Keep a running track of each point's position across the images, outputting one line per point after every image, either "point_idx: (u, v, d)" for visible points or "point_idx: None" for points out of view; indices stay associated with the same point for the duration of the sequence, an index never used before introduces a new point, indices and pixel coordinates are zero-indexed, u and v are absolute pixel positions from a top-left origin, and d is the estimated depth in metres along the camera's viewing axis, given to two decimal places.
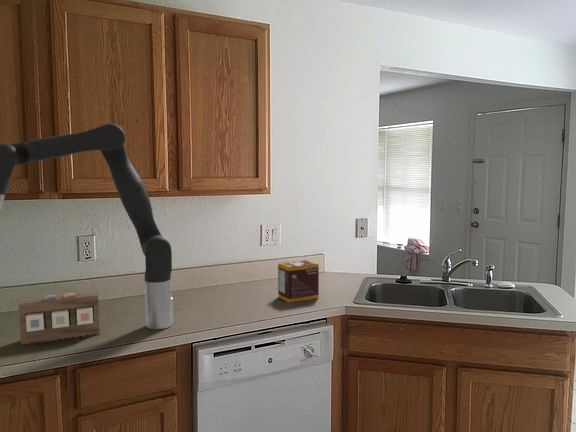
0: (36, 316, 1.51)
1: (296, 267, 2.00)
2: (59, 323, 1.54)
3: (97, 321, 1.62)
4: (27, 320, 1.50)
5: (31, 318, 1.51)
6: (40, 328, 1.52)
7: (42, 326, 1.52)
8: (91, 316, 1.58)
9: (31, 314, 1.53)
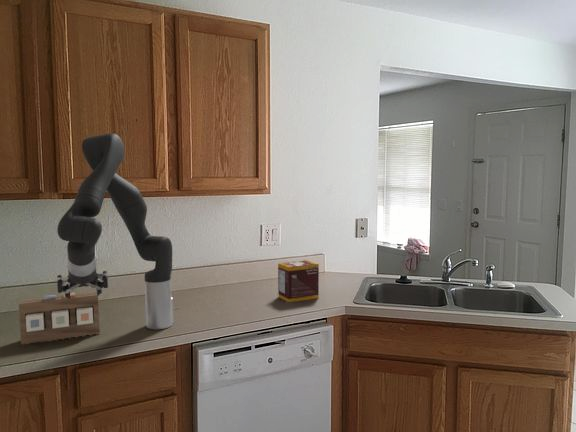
0: (36, 316, 1.51)
1: (296, 267, 2.00)
2: (59, 323, 1.54)
3: (97, 321, 1.62)
4: (27, 320, 1.50)
5: (31, 318, 1.51)
6: (40, 328, 1.52)
7: (42, 326, 1.52)
8: (91, 316, 1.58)
9: (31, 314, 1.53)
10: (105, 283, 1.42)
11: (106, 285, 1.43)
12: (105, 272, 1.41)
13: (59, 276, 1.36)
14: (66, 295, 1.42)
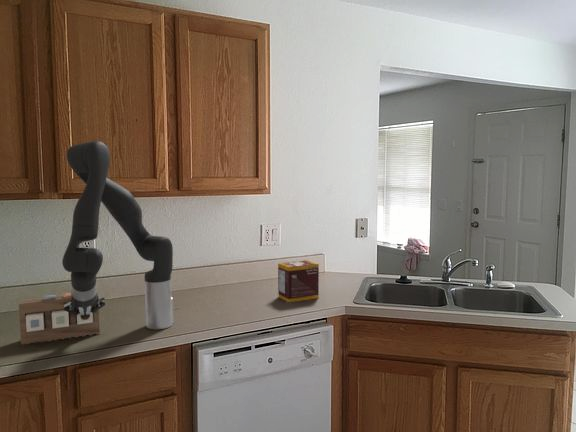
0: (36, 316, 1.51)
1: (296, 267, 2.00)
2: (59, 323, 1.54)
3: (97, 321, 1.62)
4: (27, 320, 1.50)
5: (31, 318, 1.51)
6: (40, 328, 1.52)
7: (42, 326, 1.52)
8: (91, 315, 1.59)
9: (31, 314, 1.53)
10: (97, 308, 1.54)
11: (95, 310, 1.54)
12: (104, 299, 1.54)
13: (64, 303, 1.49)
14: (81, 316, 1.55)
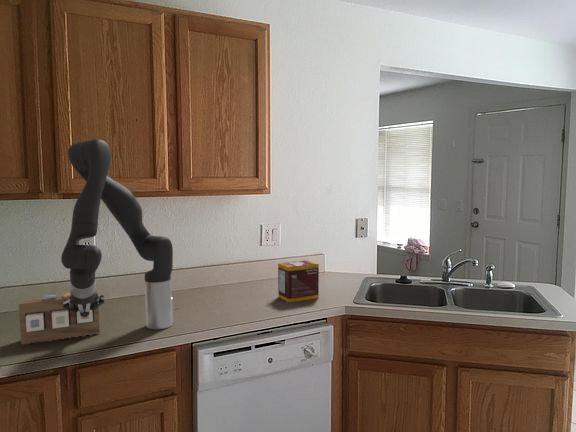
0: (36, 316, 1.51)
1: (296, 267, 2.00)
2: (59, 323, 1.54)
3: (97, 321, 1.62)
4: (27, 320, 1.50)
5: (31, 318, 1.51)
6: (40, 328, 1.52)
7: (42, 326, 1.52)
8: (91, 314, 1.60)
9: (31, 314, 1.53)
10: (96, 306, 1.54)
11: (95, 308, 1.55)
12: (103, 296, 1.54)
13: (63, 301, 1.49)
14: (81, 314, 1.56)
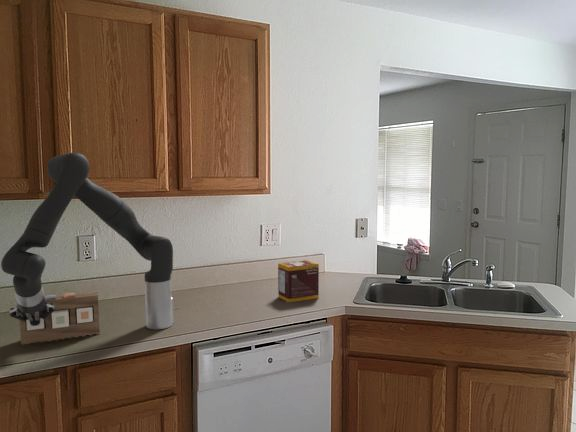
0: None
1: (296, 267, 2.00)
2: (59, 323, 1.54)
3: (97, 321, 1.62)
4: None
5: None
6: (40, 327, 1.53)
7: (42, 325, 1.54)
8: (91, 314, 1.60)
9: None
10: (47, 314, 1.48)
11: (45, 316, 1.49)
12: (54, 304, 1.48)
13: (11, 309, 1.43)
14: (31, 322, 1.50)
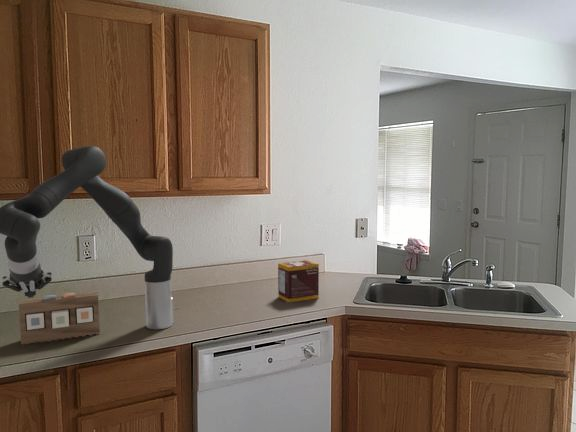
0: (36, 314, 1.53)
1: (296, 267, 2.00)
2: (59, 323, 1.54)
3: (97, 321, 1.62)
4: (28, 318, 1.52)
5: (32, 316, 1.53)
6: (40, 326, 1.54)
7: (42, 324, 1.54)
8: (91, 314, 1.60)
9: None
10: (43, 284, 1.35)
11: (41, 287, 1.36)
12: (50, 274, 1.35)
13: (3, 278, 1.30)
14: (26, 294, 1.37)
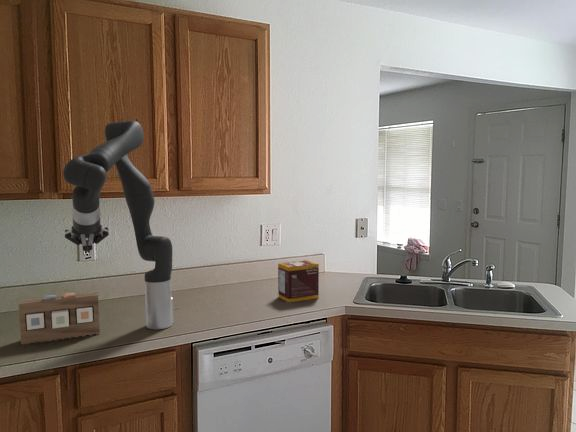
0: (36, 314, 1.53)
1: (296, 267, 2.00)
2: (59, 323, 1.54)
3: (97, 321, 1.62)
4: (28, 318, 1.52)
5: (32, 316, 1.53)
6: (40, 326, 1.54)
7: (42, 324, 1.54)
8: (91, 314, 1.60)
9: None
10: (100, 239, 1.44)
11: (98, 241, 1.45)
12: (107, 229, 1.44)
13: (65, 231, 1.39)
14: (83, 248, 1.46)
